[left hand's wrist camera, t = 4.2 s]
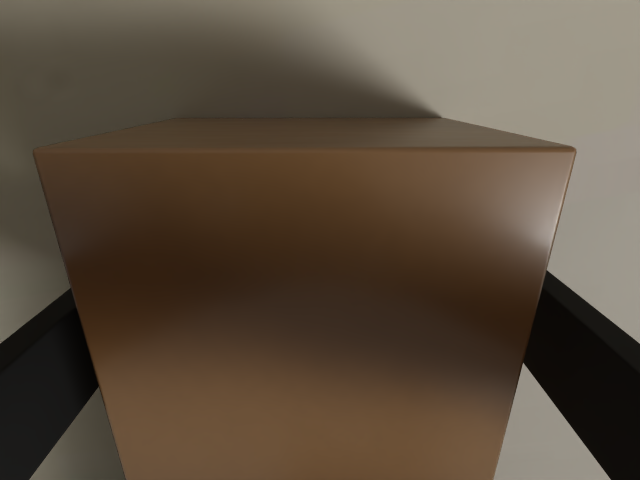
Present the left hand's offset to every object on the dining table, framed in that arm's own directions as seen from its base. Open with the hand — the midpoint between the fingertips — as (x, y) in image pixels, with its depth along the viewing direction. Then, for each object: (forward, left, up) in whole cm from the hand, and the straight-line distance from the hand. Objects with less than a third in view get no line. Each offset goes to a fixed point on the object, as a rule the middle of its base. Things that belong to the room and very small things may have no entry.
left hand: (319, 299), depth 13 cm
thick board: (+2, -19, -2) cm, 20 cm away
